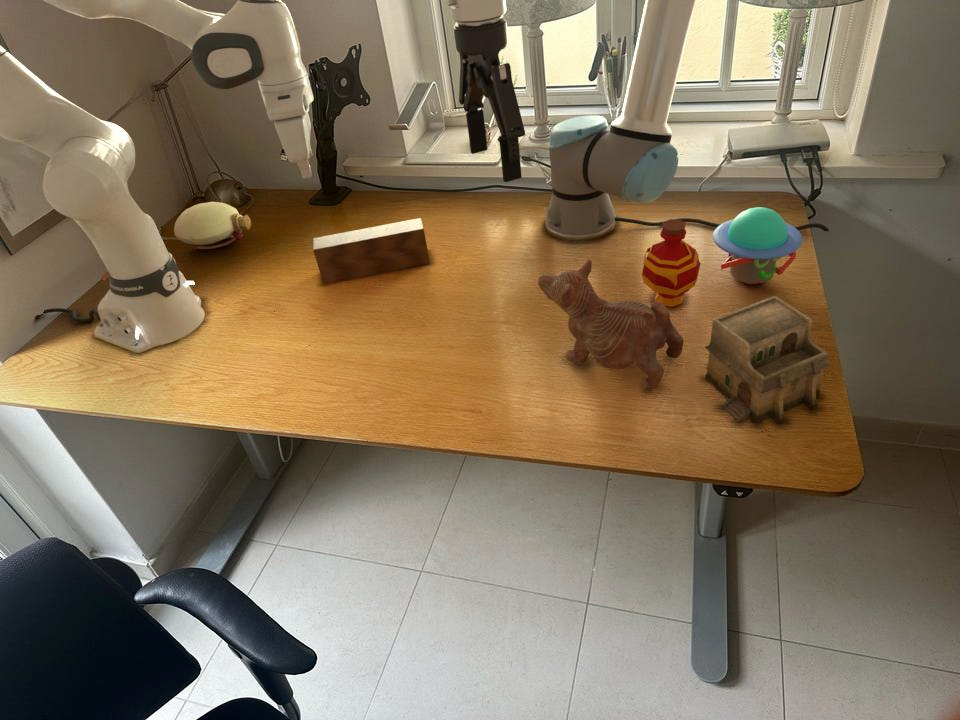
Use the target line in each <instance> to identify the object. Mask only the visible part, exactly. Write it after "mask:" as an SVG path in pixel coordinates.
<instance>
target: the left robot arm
mask: <svg viewBox="0 0 960 720" xmlns="http://www.w3.org/2000/svg"><path fill="white" fill-rule="evenodd" d="M42 1H43V2H45V3H47V4H48V5H51V6H53V7H55V8H57V9H60V10H62V11H64V12H67V13H70V14H72V15H75V16H79V17H82V18H84V19H89V20H96V19H108V18H118V19H119V18H122V19H129V20H133V21H134V22H139V23H141V24H143V25H145V26H148V27H149V28H152V29H154V30H156V31H157V32H160V33H162V34H164V35H166V36H167V37H170V38H172V39H173V40H175V41H178V42H180V43H182V44H183V45H185V46H187V47H188V48H189V49H190V50H191V55H190V56H191V63H192V66H193V69H194V71H195V73H196V74H197V76H198V77H199V78H200V79H201V81H203V82H204V83H205V84H207V85H209V86H210V87H213V88H215V89H219V90H229V89H234V88H237V87H239V86H242V85H244V84H247V83H249V82H251V81H253V80H256V81H257V84H258V88H259V92H260V94H261V99H262V101H263V104H264V108H265V110H266V113H267V117H268V119H269V121H270V122H273V124H274V127H275V130H276V133H277V135H278V139H279V140H280V144H281V146H282V148H283V151H284V153H285V154H284V155H285V156H286V158H287V160H288V161H289V162H290V163H291V164H295V163H296V165H297V167H298V169H299V172H300V175H301V177H302V178H303V179H304V180H305V179H311V178H312V176H313V172H312V168H311V164H310V163H309V160H312V159H313V151H312V147H311V131H312V123H311V118H310V115H309V111H310V105H311V103H313V102H314V99H315V97H314V93H313V90H312V86H311V82H310V79H309V74H308V70H307V68H306V66H305V65H304V63H303V60H302V55H301V45H300V40H299V37H298V33H297V30H296V26H295V24H294V21H293V20H294V19H293V18H292V16H291V15H292V14H291V12H290V10H289V8H288V7H287V5H286V3H284V2H283V1H282V0H237V1H236V3H235V4H234V5H233V6H232V7H231V8H230V9H229V10H228V11H227V12H226V13H220V12H213V11H206V10H202V9H198V8H196V7H194V6H192V5H191V4H190V5H189V4H188V3H186V2H184V1H183V0H42ZM0 137H1V138H3V139H5V140H7V141H10V142H12V143H13V142H14V143H19V144H22V145H25V146H27V147H30V148H32V149H34V150H36V151H38V152H39V153H41V154H44V155H45V156H46V157H48V158H50V159H49V160H48V162H47V163H46V166H45V169H44V174H43V180H42V192H43V196H44V197H45V200H46V201H47V203H48V204H49V205H50V206H51V207H52V208H53V209H54V210H55V211H57V212H58V213H59V214H61V215H63V216H65V217H67V218H69V219H72V220H73V221H74V222H75V223H76V224H77V225H78V226H79V227H80V228H81V229H82V231H83V232H84V234H86V236H87V237H88V238H89V240H90V241H91V243H92V245H93V247H94V248H95V250H96V252H97V254H98V256H99V257H100V259H101V261H102V263H103V264H104V267H105V269H106V270H107V271H106V272H105V273H103V274H102V275H100V277H101V278H103V277H104V278H103V279H102V281H103V282H105V281H107V280H108V284H109V289H108V291H107V292H106V293H105V294H104V296H103V297H102V298H101V300H100V301H99V302H98V305H97V307H95V308H93V309H91V310H90V311H89V312H88V315H89V317H87V318H84V317H83V318H82V317H78V316H77V312H76V310H74V309H71V308H63V307H55V308H54V307H53V308H46V309H44V312H43V313H44V314H41V315H37V314H36V315H37V316H36V315H35V316H34V320H39V319H40V318H41V317H42V316H43V315H45V314H49V313H68V314H71V318H72V320H73V321H74V322H79V323H90V322H92V321H94V320H95V318H96V320H97V321H100V322H99V323H98V324H97V325H96V327H95V328H94V331H93V335H94V337H95V338H97V339H100V340H102V341H104V342H107V343H110V344H113V345H115V346H118V347H120V348H123V349H125V350H128V351H129V352H132V353H136V354H139V353H140V354H141V353H143V352H147V351H148V350H151V349H153V348H155V347H159V346H163V345H168V344H170V343H173V342H176V341H179V340H180V339H183V338H185V337H187V336H188V335H190V334H191V333H193V332H194V331H195V330H197V328H199V327H200V326H201V324H202V323H203V322H204V320H205V316H206V313H205V310H204V308H203V307H202V299H201V298H200V296H199V295H195V293H194V291H193V290H192V288H191V286H192V285H193V286H194V285H195V282H194V280H187V279H186V278H185V276H184V274H183V273H182V272H181V271H180V270H179V268H178V265H177V262H176V260H175V258H174V257H173V255H172V253H170V252H169V251H168V248H167V247H166V244H165V242H164V241H163V237H162V236H161V234H160V231H159V229H158V227H157V225H156V222H155V221H154V219H153V218H152V216H150V215H149V214H147V213H146V212H144V211H143V210H142V209H141V207H140V206H139V205H138V203H137V202H136V201H135V199H134V198H133V197H132V195H131V193H130V190H129V187H128V186H129V185H128V180H129V179H130V178H131V176H132V173H133V172H134V169H135V166H136V148H135V143H134V141H133V138H131V136H130V134H129V133H128V132H127V131H126V130H125V129H123V128H122V127H121V126H119V125H118V124H116V123H113V122H110V121H106V120H102V119H100V118H98V117H96V116H95V115H93V114H91V113H89V112H87V111H86V110H84V108H81V107H79V106H78V105H76V104H75V103H73V102H71V101H70V100H68V99H67V98H66V97H63V96H62V95H60V94H59V93H58V92H56V91H55V90H54V89H52V88H51V87H50V86H48V85H47V84H46V83H45V82H44V81H42V79H40V78H39V77H38V76H37V75H36V74H34V72H32V71H31V70H30V69H28V68H27V67H26V66H25V65H24V64H23V63H22V62H21V61H19V60H18V59H17V58H16V57H14V56H13V55H12V54H11V53H10V52H9V51H7V50H6V49H5V48H4V47H3V46H2V45H0ZM190 285H191V286H190Z"/></svg>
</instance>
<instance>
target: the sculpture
mask: <svg viewBox="0 0 960 720" xmlns="http://www.w3.org/2000/svg"><path fill="white" fill-rule="evenodd" d="M592 266H593V261H592V260H591V259H588V260H586V262H585V263H584V264H583V265H582V266H581V268H579V269H566V270H564V271H562V272H561V273H559V274H545V273H544V274H541V275H540V276H539V277H538V279H537V284H538V287H539V289H540V290H541V291H542V292H543V294H544V295H545V297H546V298H547V299H549V300H550V301H552V302H554V303H555V304H556V305H557V306H558V307H559V308H560V309H562V311H564V312H565V313H566V314H567V315H568V322H567V326H568V330H569V332H570V333H571V336H573V337H574V338H575V342H574V345H573V349H569V350H567V351H566V352H565V359H566V361H569V362H570V363H574V364H576V365H582V364H584V363H585V362H587V360H588V359H589V356H590V355H591V358H592V359H593V360H594V362H595V363H596V364H598V365H599V366H600V367H603V368H604V369H609V370H621V369H625V368H627V367H630V366H631V365H633V364H636V366H637V367H638V368H639V369H640V370H641V371H642V372H643V373H644V374H645V375H646V376H647V377H646V378H645V380H644V386H645V387H646V388H648V389H657V388H658V387H659V385H660V383H661V381H662V379H663V378H664V375H665V368H664V366H663V365H662V364H661V363H660V362H659V361H658V360H657V357H656V356H657V355H656V354H657V351H659V350H661V349H663V348H664V347H665V346H666V345H667V348H666V350H665V355H666V356H667V357H669V358H671V359H678V358H679V357H680V356H681V354H682V352H683V348H684V342H685V340H684V337H683V336H682V335H681V334H680V333H679V331H678V330H677V329H676V327H675V326H674V324H673V322H672V320H671V315H670V314H671V313H670V311H669V309H668V306H665V305H664V304H663V303H661V302H657V301H655V300H654V301H653V302H651V304H650V305H647V304H645V303H643V302H640V301H636V300H621V301H615V302H614V301H613V302H612V301H609V300H606V299H604V298H602V297H600V296H598V295H597V293H596V290H595V289H594V288H593V286H592V284H591V282H590V280H589V276H590V274H591V272H592Z"/></svg>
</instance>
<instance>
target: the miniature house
mask: <svg viewBox="0 0 960 720" xmlns="http://www.w3.org/2000/svg"><path fill="white" fill-rule="evenodd" d="M812 326H813V320H812V319H811V318H810V317H809V316H808V315H806V314H804V313H802V312H801V311H799V310H797V309H796V308H795V307H793V306H792V305H791V304H789V303H787V302H785V301H784V300H782V299H781V298H780V297H778V296H776V295H773V296H771V297H768V298H765V299H763V300H760V301H757V302H754V303H752V304H750V305H747V306H744V307H741V308H739V309H736V310H733V311H731V312H728V313H726V314H723V315H720V316H717V317H715V318H712V325H711V335H710V341H709V344H708V345H706V346H704V349H706V351H708V359H707V360H708V361H707V369H706V374H705V377H704V379H705V380H706V381H707V382H708V383H709V384H710V385H711V386H713V387H714V389H716V390H717V391H718V392H720V394H722V396H724V397H725V398H726V399H728V400H727V401H725V402H724V403H723V404H721V405H720V408H721V409H724V410H725V411H727V412H728V413H729V414H730V415H732V417H734V419H735V420H736V422H737V423H739V422H741V421H744V420H746V419H748V418H749V419H751V420H752V421H753V422H754V423H756V424H757V423H760V422H762V421H765V420H766V419H769V418H772V419H773V420H775V421H776V422H777V423H778V424H782V423H784V422H785V420H786V416H785V411H788V410H789V409H792V408H794V407H797V406H799V405H801V404H804V405H805V406H806V407H808V408H809V409H810V410H815V409H816V408H817V407H818V404H819V403H818V401H817V397H820V393H821V391H820V389H821V384H822V381H823V376H824V373H825V368H827V367H830V366H831V365H832V363H831V362H830V361H829V360H828V359H829V358H828V357H829V352H828V351H826V350H825V349H823V348H822V347H820V346H819V345H817V344H816V343H814V341H813V339H812V336H811V334H812V328H813V327H812Z"/></svg>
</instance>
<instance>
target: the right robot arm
mask: <svg viewBox="0 0 960 720" xmlns="http://www.w3.org/2000/svg"><path fill="white" fill-rule="evenodd" d="M696 2H697V0H645V2H644V6H643V11H642V16H641V20H640V25H639V29H638V33H637V34H638V35H637V39H636V44H635V49H634V53H633V58H632V62H631V67H630V72H629V77H628V82H627V86H626V91H625V94H624V95H625V96H624V101H623V105H622V110H621V114H620V116H618V117H617V118H616V119H615V120H613V121H612V122H611V123H610V127H609V129H608V126H609V124H608V121H607V119H606V118H605V117H604V116H602V115H601V116H600V115H592V114H591V115H582V116H581V115H580V116H576V117H572V118H568V119H565V120H563V121H561V122H558V123H557V124H555V125H554V126H553V127H552V128H551V130H550V131H549V146H548V150H549V164H550V165H549V166H550V176H551V178H550V179H551V188H552V189H551V190H552V191H551V193H552V194H551V198H550V202H549V206H548V209H547V210H546V206H543V212H544V215H545V229H546V232H547V233H548V234H549V236H550V235H551V236H552V237H553V238H556V239H558V240H561V241H567V242H586V241H587V242H588V241H594V240H597V239H600V238H604V237H605V236H607V235H608V234H610V233H611V232H613V230H614V229H615V227H616V223H617V222H623V223H631V224H636V225H641V226H647V227H662V224H663V222H664V221H658V222H657V221H656V222H654V221H644V220H640V219H634V218H627V217H619V216H616V212H615V209H614V205H613V204H612V200H611V198H610V195H612V196H614V197H618V198H622V199H623V200H625V201H627V202H635V203H639V204H648V203H652V202H654V201H656V200H657V199H658V198H660V197H661V196H662V195H663V194H664V193H665V192H666V191H667V190H668V188H669V186H670V185H671V184H672V182H673V180H674V177H675V175H676V173H677V169H678V165H679V156H678V155H679V153H678V149H677V148H676V147H675V146H674V144H671V140H672V136H673V131H672V130H671V128H670V126H669V124H668V119H669V114H670V110H671V105H672V101H673V98H674V94H675V89H676V86H677V81H678V76H679V72H680V69H681V65H682V59H683V56H684V53H685V48H686V44H687V40H688V35H689V31H690V28H691V23H692V18H693V14H694V10H695V6H696ZM446 3H447V6H448V7H450V9H451V10H450V11H451V16H452V20H454V21H455V23H454V25H453V35H454V42H455V50H456V51H457V52H458V53H459V61H460V63H459V65H460V66H459V87H458V88H459V90H458V93H459V94H458V102H459V105H460V106H463V107H462V108H463V110H464V112H465V118H466V126H467V133H468V141H469V147H470V148H469V149H470V153H471V154H472V155H474V154H477V153H482V152H486V151H488V142H487V141H488V140H487V134H486V133H487V132H486V125H485V123H486V122H485V115H484V114H485V113H484V110H483V109H482V108H485V105H484V102H483V97H484V98H487V99H488V102H489V105H490V107H491V111H492V113H493V116H494V119H495V122H496V125H497V127H498V131H499V133H500V135H499V136H498V138H497V142H499V152H500V163H501V171H502V173H501V174H502V181H503V182H504V183H509V182H512V181H515V180H520V179H522V167H521V154H520V139H519V138H522V137H524V136H526V129H525V126H524V122H523V118H522V114H521V110H520V106H519V103H518V98H517V94H516V90H515V87H514V83H513V75H512V68H511V65H510V63H509V62H506V63H501V58H500V54H499V53H500V52H501V51H502V50H504V49H505V48H507V47H508V45H509V31H508V21H507V19H506V18H505V16H504V15H505V14H506V12H507V3H506V0H446ZM675 219H676V220H682V221H683V222H685V223H696V224H698V225H699V224H700V225H705V226H708V227H712V228H715V229H716V228H717V227H718V226H719V225H721V224H722V223H716V222H711V221H707V220H705V219H699V218H693V217H679V218H675ZM794 227H795V228H796V229H797V230H798V231H802V230H806V229H811V228H818V229H821V230H822V231H823V232H830V229H829V227H827V226H826V225H824V224H822V223H817V222H812V223H806V224H802V225H798V226H794Z"/></svg>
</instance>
